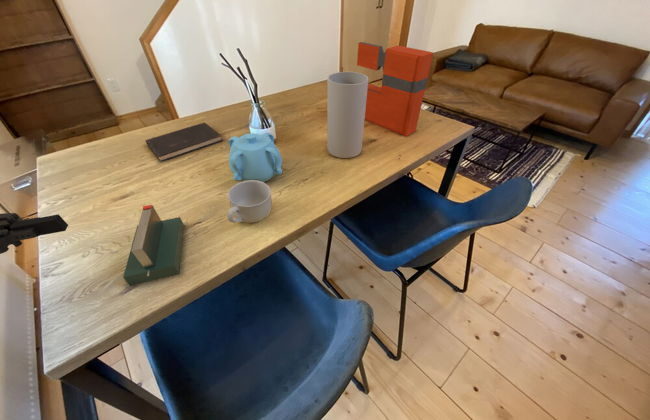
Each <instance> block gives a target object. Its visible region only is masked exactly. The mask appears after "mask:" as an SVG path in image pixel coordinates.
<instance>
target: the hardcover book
mask: <svg viewBox="0 0 650 420" xmlns="http://www.w3.org/2000/svg"><path fill="white" fill-rule="evenodd" d="M144 141H145V143H146V145H147V147H148V148H149V150H150V151H151V152H152V153H153V154H154V156H155V157H156V158H157V159H158V161H159V162H160V163H163V162H165V161H169V160H171V159H174V158H178V157H180V156H183V155H185V154H189V153H191V152H194V151H197V150H200V149H203V148H206V147H209V146H212V145H215V144H218V143H221V142H223V139H222V135H221V134H220V133H218V132H217V131H216V130H215V129H214V128H212V127H211V126H210V125H209V124H207V123H206V122H201V123H198V124H195V125H191V126H187V127H184V128H181V129H177V130H174V131H171V132H167V133H164V134H161V135H157V136H155V137H151V138H148V139H145V140H144Z"/></svg>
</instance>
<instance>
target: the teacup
mask: <svg viewBox="0 0 650 420" xmlns="http://www.w3.org/2000/svg"><path fill="white" fill-rule="evenodd" d="M227 199H228V201H229V204H230V208H229V209H228V211H227V214H226V218H227V221H229V222H230V223H232V224H237V223H257V222H260V221H262V220H264V219H265V218H267V217H268V216H269V215H270V213H271V211H272V206H273V205H272V189H271V187H270V186H269V185H268V183H266V182H261V181H257V180H247V181H244V180H242V181H239V182H237V183H235V184H234V185H232V186H231V187H230V188H229V190H228V192H227ZM234 217H235V218H234Z"/></svg>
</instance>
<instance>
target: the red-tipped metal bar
mask: <svg viewBox="0 0 650 420" xmlns="http://www.w3.org/2000/svg"><path fill="white" fill-rule="evenodd" d="M162 221H163V220H162V219H161V217H160V216H159V214H158V212H157V211H156V209H155V207H154V205H153V204H148V205H143V206H142V211H141V214H140V218H139V221H138V228H137V227H136V229H137V232H136V231H135V232H136V236H135V235H134V236H135V239H134V238H133V239H134V243H133V242H132V243H133V247H132V246H131V247H132V250H131V249H130V250H131V251H132V253H133V254H134V255H135V257H136V258H137V259H138V261H139V262H140V263H141V264H142V266H143V267H144V268H145V269H146V268H150V267H154V266H155V262H156V256H157V251H158V245H159V240H160V234H161V229H162Z"/></svg>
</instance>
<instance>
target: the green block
mask: <svg viewBox="0 0 650 420" xmlns="http://www.w3.org/2000/svg"><path fill="white" fill-rule="evenodd" d="M161 221H162V229H161V234H160V240H159V245H158V251H157V256H156V262H155V266H154V267H150V268H146V269H145V268H144V267H143V266H142V264H141V263H140V262H139V261H138V259H137V258H136V257H135V255H134V254H133V253H132V251H131V250H132V247H133V243H134V239H135V236H136V232H137V228H138V225H139V224H138V225H137V226H136V229H135V232H134V236H133V240H132V243H131V247H130V251H129V254H128V258H127V261H126V266H125V269H124V273H123V276H122V278H123V280H124V281H125V282H126V283H127V284H128V285H129V286H134V285H138V284H142V283H146V282H151V281H155V280H159V279H163V278H167V277H168V278H169V277H171V276H175V275H180V269H181V262H182V261H181V260H182V250H183V241H184V229H185V224H184V222H183V220H182V218H181V216H178V217H172V218H168V219H164V220H161ZM196 236H197V235H196V234H191V235H189V238H192V237H196ZM116 253H118V250H115V251H110V253H109V254H110V255H113V254H116Z"/></svg>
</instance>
